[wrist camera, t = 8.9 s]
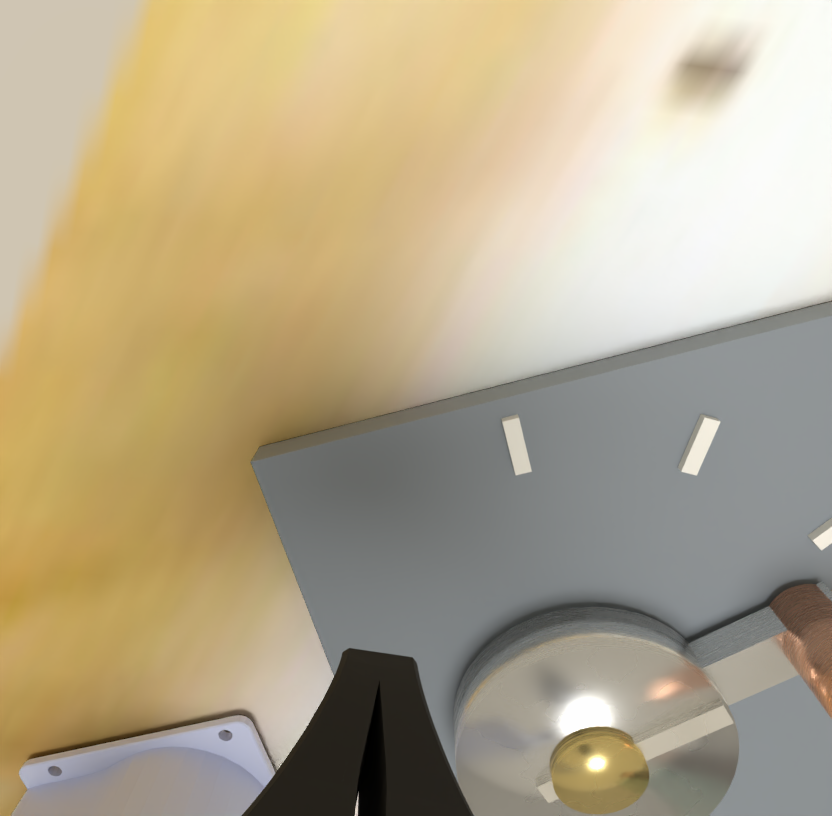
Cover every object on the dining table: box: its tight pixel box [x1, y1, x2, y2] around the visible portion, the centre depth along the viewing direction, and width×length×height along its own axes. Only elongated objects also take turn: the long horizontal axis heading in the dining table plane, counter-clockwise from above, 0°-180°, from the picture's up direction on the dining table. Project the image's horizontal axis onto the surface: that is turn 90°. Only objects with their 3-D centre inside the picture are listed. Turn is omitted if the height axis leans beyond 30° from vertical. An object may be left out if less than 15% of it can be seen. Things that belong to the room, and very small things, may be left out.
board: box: [251, 301, 832, 816], centre depth 24 cm, size 20×22×2 cm
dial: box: [453, 582, 832, 816], centre depth 21 cm, size 14×9×6 cm, turn 122°
